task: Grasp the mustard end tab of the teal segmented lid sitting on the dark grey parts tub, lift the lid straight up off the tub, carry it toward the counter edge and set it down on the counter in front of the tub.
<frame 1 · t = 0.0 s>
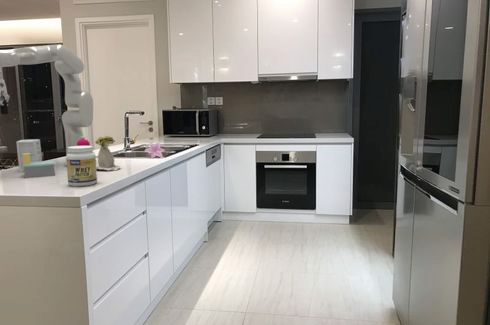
potted plant: (108, 169, 217), on the counter
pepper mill: (85, 176, 198), on the counter
supplement tub: (83, 184, 180), on the counter
lid: (39, 164, 197), point 6 cm above the counter, touching tub
lily: (155, 157, 260), on the counter
tub: (40, 176, 198), on the counter
supplement box: (31, 172, 212), on the counter
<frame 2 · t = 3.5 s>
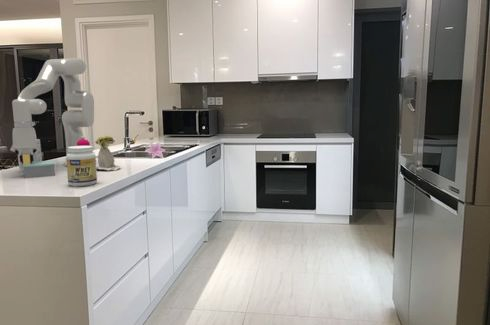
hand: (26, 162, 194), 7 cm above the counter, tool pointing down, fingers closed on lid, 3 cm apart
lid: (39, 164, 197), point 6 cm above the counter, touching gripper
everything else where it was.
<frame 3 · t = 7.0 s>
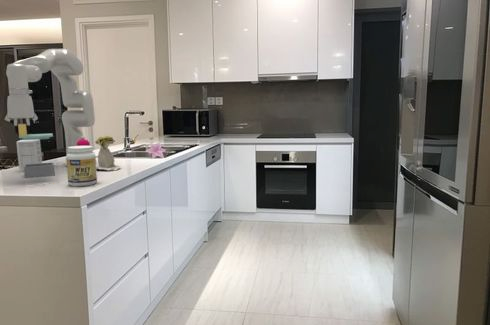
hand: (23, 134, 179), 23 cm above the counter, tool pointing down, fingers closed on lid, 3 cm apart
lid: (36, 136, 181), point 21 cm above the counter, touching gripper
everything else where it was.
when the fingers open (3 cm above the counter, at t = 10.7 s): lid drops 1 cm, point 1 cm above the counter.
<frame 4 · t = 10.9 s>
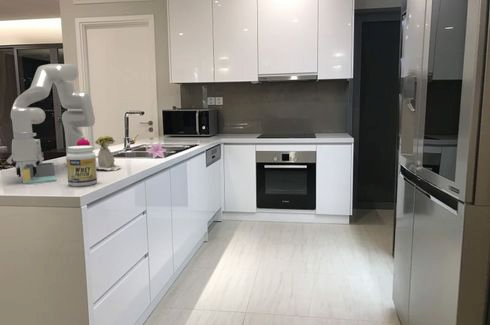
hand: (27, 175, 182), 4 cm above the counter, tool pointing down, fingers open, 5 cm apart
lid: (39, 180, 185), point 1 cm above the counter
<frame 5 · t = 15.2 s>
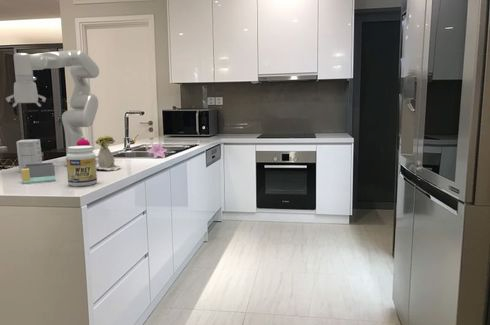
hand: (27, 115, 196), 30 cm above the counter, tool pointing down, fingers open, 9 cm apart
at the end: lid inside the target area (2.6 cm from its centre), point 0.8 cm above the counter; lid touching counter; the gripper is holding nothing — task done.
